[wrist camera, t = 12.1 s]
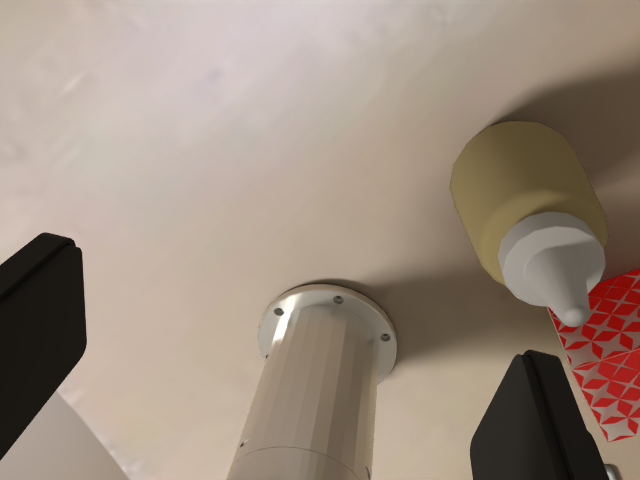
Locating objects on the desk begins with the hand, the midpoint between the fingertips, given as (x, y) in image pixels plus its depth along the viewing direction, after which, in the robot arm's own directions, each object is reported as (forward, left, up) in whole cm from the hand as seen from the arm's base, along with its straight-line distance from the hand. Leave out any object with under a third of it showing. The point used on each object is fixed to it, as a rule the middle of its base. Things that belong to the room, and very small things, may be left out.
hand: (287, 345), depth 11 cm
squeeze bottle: (-4, -11, -28) cm, 31 cm away
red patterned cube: (-15, -24, -29) cm, 40 cm away
